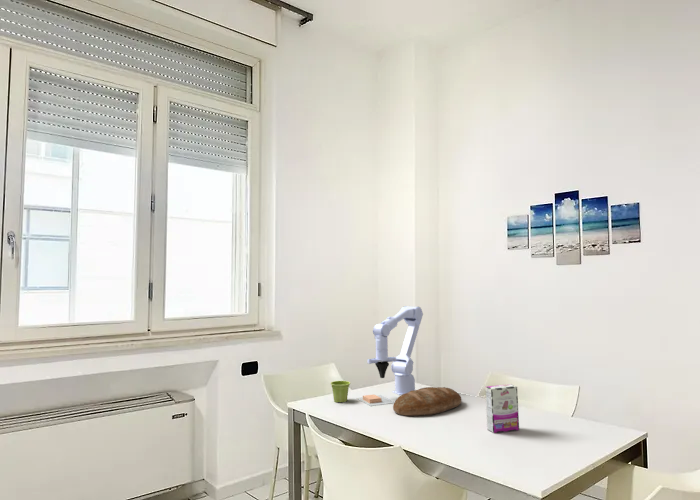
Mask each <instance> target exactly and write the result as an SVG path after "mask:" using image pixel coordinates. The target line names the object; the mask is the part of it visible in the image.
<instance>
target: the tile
mask: <svg viewBox="0 0 700 500" xmlns="http://www.w3.org/2000/svg"><path fill="white" fill-rule="evenodd" d="M378 396H379V395H376V394H366V395H365V394H364V395H362V397H363V400H364V401H366V402H368V403H378V402H382V398H380V397H378Z"/></svg>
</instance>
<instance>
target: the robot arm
mask: <svg viewBox="0 0 700 500" xmlns="http://www.w3.org/2000/svg"><path fill="white" fill-rule="evenodd" d="M423 315H424V313H423V310H422V307H420V306H407V305H405V306H403V307H401V308H400V310H399V311H398V312H397V313H396V314H394V315H393V316H387V317H386V319H385V320H383V321H381V323H377V324H375V325H374V326H373V329H372V333H373V335H374V339H375V358H370V359H369V358H367V361H366V362H367V364H368V365H371V364H374V365H375V367H376V368H377V371H378V374H379V378H380V379H385V376H386V373H387V370H388V367H389V366H391V367H390V368H391V369H390V370H391V372H392V373H393V376H394V389H395V390H392V391H391V392H392V393H393V394H395V395H398V396H401V395H403V394H405V393H408V392H410V391H413V390H416V384H415V383H416V382H415V377H414V375H413V374H412V373H413V370H414V368H413V367H414V366H413V365H414V361H413V359H412V358H411V356H412V352H413V349H414V346H415V343H416V339H417V337H418V332H419V329H420V325H421V322H422V319H423ZM403 320H404V321H405V323H406V325H408V327H407V329H406V330H407V331H406V333H405V335H404V336H405V337H404V340H403V343H402V345H401V346H402V347H401V349H400V354H398V355H397V356H392V357H391V356H389V355H388V354H389V353H388V351H389V350H388V348H389V346H388V342H389V341H388V337H389V336H390V333H391V331H393V329H395V328H396V327H398V323H399V322H401V321H403ZM390 362H392V363H391V365H390Z"/></svg>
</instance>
